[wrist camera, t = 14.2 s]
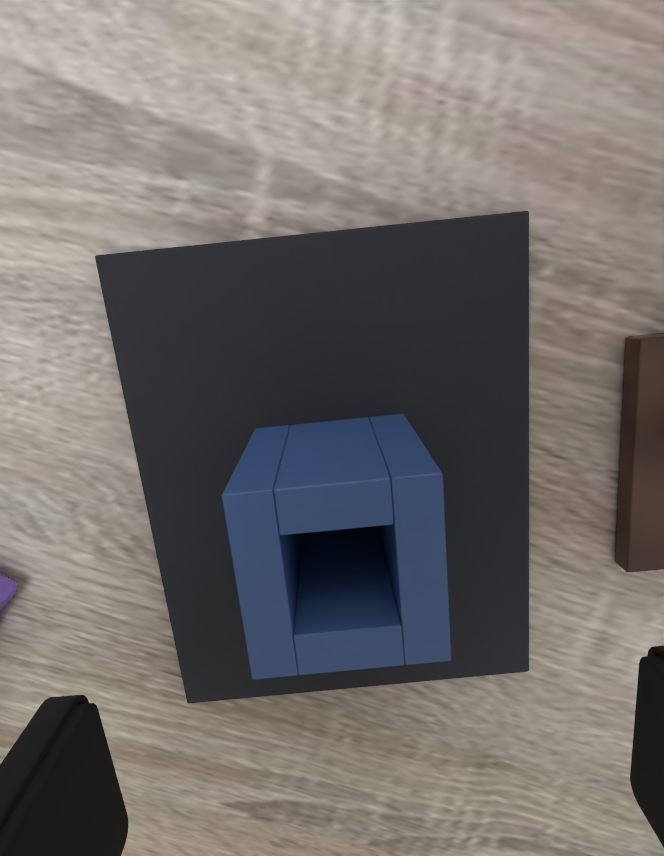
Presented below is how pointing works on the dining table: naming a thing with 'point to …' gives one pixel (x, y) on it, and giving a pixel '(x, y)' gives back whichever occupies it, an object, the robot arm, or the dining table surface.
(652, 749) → the robot arm
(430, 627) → the block
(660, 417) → the dowel stand
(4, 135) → the dining table surface
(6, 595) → the snack package
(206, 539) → the mat
